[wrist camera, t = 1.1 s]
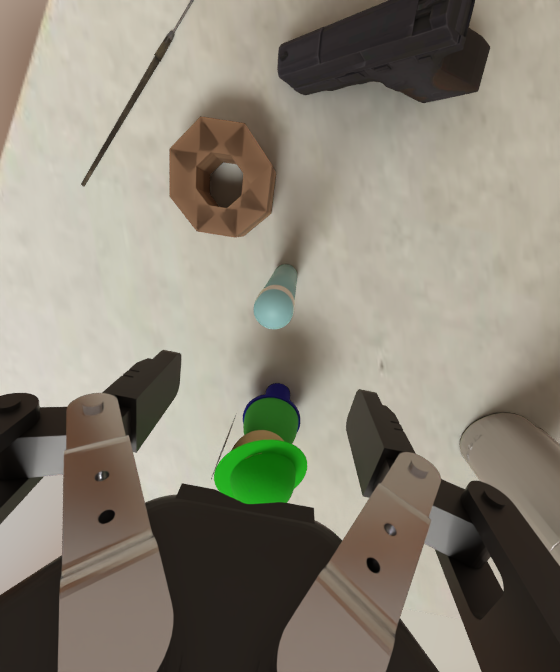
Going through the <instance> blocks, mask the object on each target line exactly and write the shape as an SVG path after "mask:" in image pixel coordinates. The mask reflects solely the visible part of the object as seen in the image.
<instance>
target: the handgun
mask: <svg viewBox="0 0 560 672" xmlns="http://www.w3.org/2000/svg"><path fill="white" fill-rule="evenodd" d="M474 3H475V0H388V1H386V2H384V3H382V4H379V5H377V6H374V7H372V8H370V9H367V10H365V11H362V12H360V13H357V14H355V15H352V16H350V17H347V18H345V19H343V20H340V21H338V22H335V23H333V24H331V25H328V26H326V27H322V28H320V29H317V30H315V31H313V32H310V33H308V34H305V35H303V36H300V37H298V38H295V39H293V40H291V41H288V42H286V43H283V44H281V45H280V47H279V53H278V69H277V70H278V75H279V78H281V79H282V80H283V81H285V82H286V83H287V84H289V85H290V86H291V87H292V88H294V90H295V91H297V92H299V93H300V94H303V95H308V94H312V93H316V92H320V91H333V90H337V89H340V88H344V87H347V86H351V85H356V84H363V83H367V82H373V81H375V82H381V83H383V84H384V85H385V86H386V87H388V88H391V89H393V90H395V91H399V92H402V93H404V94H405V95H407V96H409V97H411V98H413V99H415V100H417V101H419V102H422V103H426V102H431V101H436V100H441V99H446V98H450V97H455V96H460V95H465V94H470V93H474V92H477V91H478V90H479V86H480V83H481V79H482V75H483V72H484V68H485V64H486V61H487V57H488V54H489V50H490V46H489V44H488V43H487V42H486V41H485V39H484V38H483V37H482V36H481V35H479V34H478V33H476V32H475V31H473V30H471V29H470V28H468V27H469V23H470V19H471V15H472V11H473V7H474Z"/></svg>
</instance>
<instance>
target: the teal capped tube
mask: <svg viewBox="0 0 560 672" xmlns="http://www.w3.org/2000/svg"><path fill="white" fill-rule="evenodd" d="M296 283H297V272H296V270H295V268H294V267H293V266H291V265H288V264H283V265H281V266H279V267H278V268H277V269H276V270H275V272H274V274H273V275H272V277H271V278H270V280H269V281H268V283H267V284H266V286H265V287H264V289H263V290H262V291H261V292H260V294H259V295H258V297H257V299H256V301H255V304H254V315H255V318H256V319H257V321H258V322H259V323H260V324H261V325H262V326H264V327H266V328H269V329H279V328H282V327H284V326H286V325H287V324H288V323H289V322H290V320H291V318H292V316H293V313H294V306H295V301H294V300H295V292H296Z"/></svg>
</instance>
